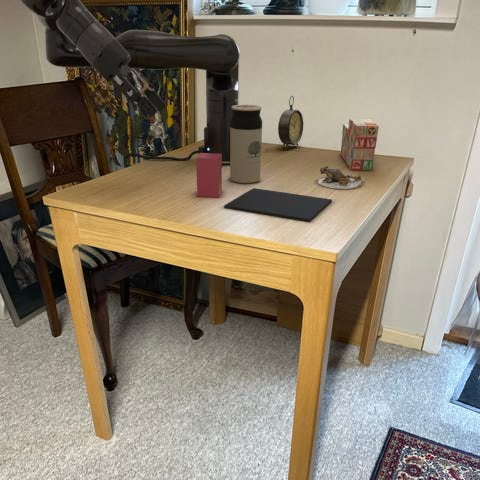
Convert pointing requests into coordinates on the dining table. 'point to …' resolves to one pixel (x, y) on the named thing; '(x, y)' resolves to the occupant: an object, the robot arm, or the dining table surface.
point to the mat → (279, 204)
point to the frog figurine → (339, 179)
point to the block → (209, 174)
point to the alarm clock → (290, 126)
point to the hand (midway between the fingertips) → (159, 111)
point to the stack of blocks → (359, 143)
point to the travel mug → (245, 143)
